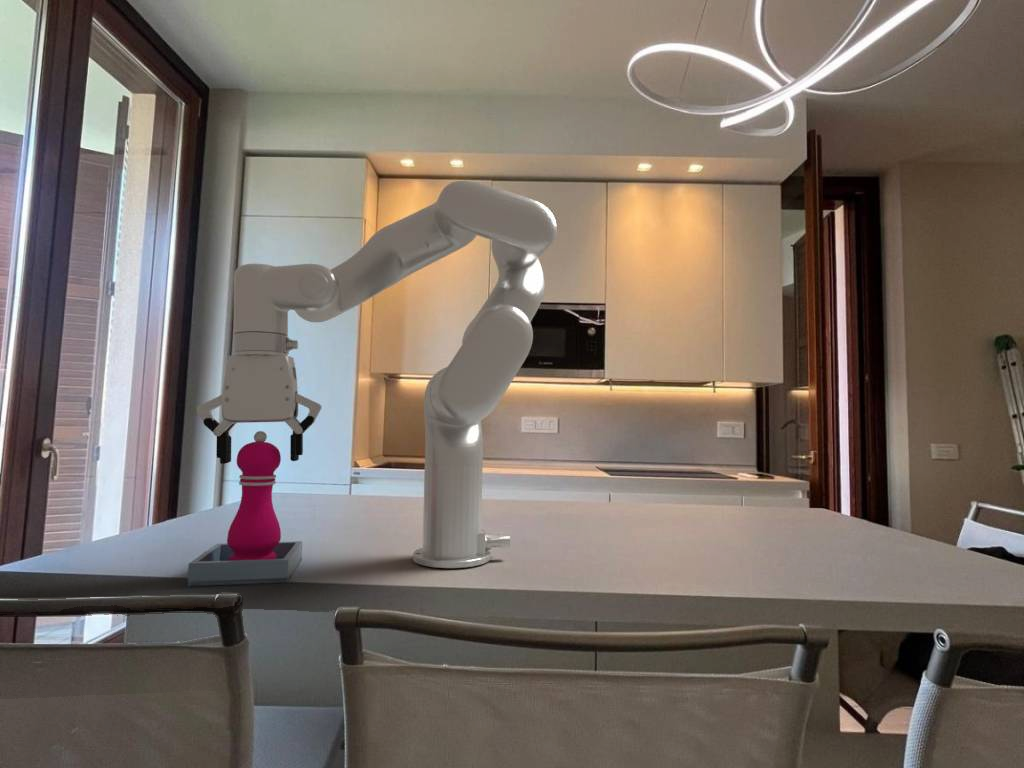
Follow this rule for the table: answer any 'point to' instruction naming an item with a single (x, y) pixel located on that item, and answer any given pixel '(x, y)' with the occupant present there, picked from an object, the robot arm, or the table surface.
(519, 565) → the table surface
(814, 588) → the table surface
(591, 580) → the table surface
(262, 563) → the tray
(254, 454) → the pepper mill
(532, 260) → the robot arm
